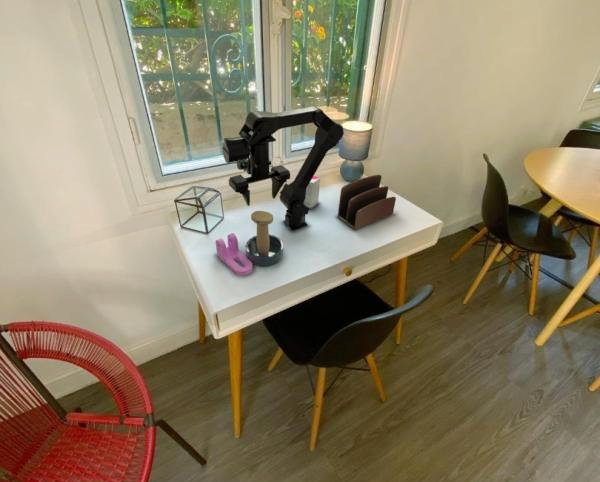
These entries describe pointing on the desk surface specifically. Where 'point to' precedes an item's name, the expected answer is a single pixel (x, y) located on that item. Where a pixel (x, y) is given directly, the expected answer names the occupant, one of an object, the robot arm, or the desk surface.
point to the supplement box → (312, 193)
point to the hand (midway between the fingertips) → (261, 201)
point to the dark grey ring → (265, 261)
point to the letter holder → (364, 202)
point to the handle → (262, 231)
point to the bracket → (233, 255)
